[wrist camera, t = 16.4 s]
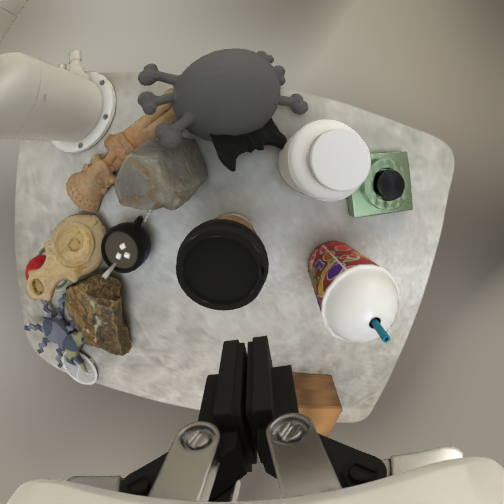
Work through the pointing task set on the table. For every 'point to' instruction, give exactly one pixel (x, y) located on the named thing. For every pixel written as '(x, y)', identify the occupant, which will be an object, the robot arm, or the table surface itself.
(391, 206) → the button housing
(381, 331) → the smoothie
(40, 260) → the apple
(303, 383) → the box
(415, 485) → the robot arm
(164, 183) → the stone
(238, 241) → the coffee cup
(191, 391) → the table surface
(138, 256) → the mug
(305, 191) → the pill bottle
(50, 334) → the toy
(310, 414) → the lid
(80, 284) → the rock
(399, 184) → the button
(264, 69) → the decorative skull
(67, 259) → the oil lamp
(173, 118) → the figurine
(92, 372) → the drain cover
